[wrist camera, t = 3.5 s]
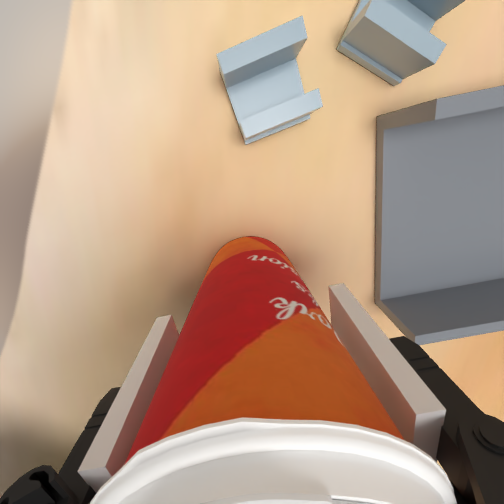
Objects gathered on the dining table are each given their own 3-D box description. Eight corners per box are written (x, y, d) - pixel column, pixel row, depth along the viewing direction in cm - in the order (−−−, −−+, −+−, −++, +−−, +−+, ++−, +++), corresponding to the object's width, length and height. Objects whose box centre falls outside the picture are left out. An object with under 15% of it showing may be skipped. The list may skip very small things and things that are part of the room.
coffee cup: (314, 302, 19) (504, 677, 5) (217, 329, 20) (164, 733, 6) (289, 202, 16) (578, 475, 2) (176, 238, 17) (-132, 629, 3)
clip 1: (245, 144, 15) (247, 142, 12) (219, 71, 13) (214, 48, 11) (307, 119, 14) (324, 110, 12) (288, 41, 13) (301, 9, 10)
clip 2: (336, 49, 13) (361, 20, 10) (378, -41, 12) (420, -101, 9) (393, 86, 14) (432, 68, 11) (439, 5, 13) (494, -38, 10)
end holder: (374, 302, 20) (414, 346, 15) (376, 116, 15) (436, 98, 10) (535, 273, 19) (624, 309, 15) (595, 72, 14) (756, 34, 10)
